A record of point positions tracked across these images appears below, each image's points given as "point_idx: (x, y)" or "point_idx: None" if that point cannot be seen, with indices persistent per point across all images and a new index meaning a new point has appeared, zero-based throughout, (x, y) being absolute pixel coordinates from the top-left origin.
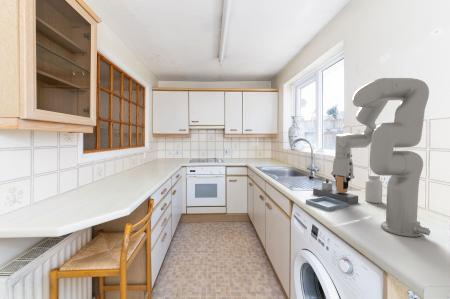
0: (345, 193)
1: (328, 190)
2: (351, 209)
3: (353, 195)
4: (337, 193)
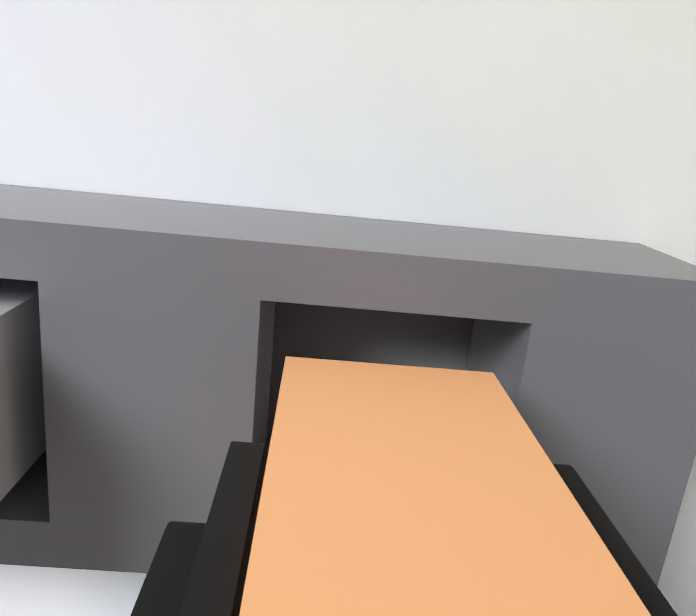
0: (406, 309)
1: (4, 460)
2: (683, 607)
3: (648, 361)
4: (257, 415)
